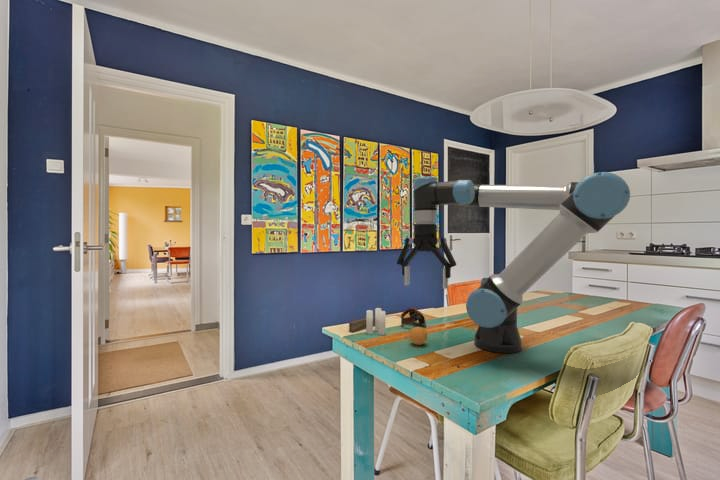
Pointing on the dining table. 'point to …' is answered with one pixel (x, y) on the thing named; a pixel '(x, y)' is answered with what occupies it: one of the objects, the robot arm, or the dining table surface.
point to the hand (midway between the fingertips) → (425, 286)
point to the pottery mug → (412, 317)
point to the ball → (418, 335)
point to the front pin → (382, 322)
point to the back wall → (359, 325)
